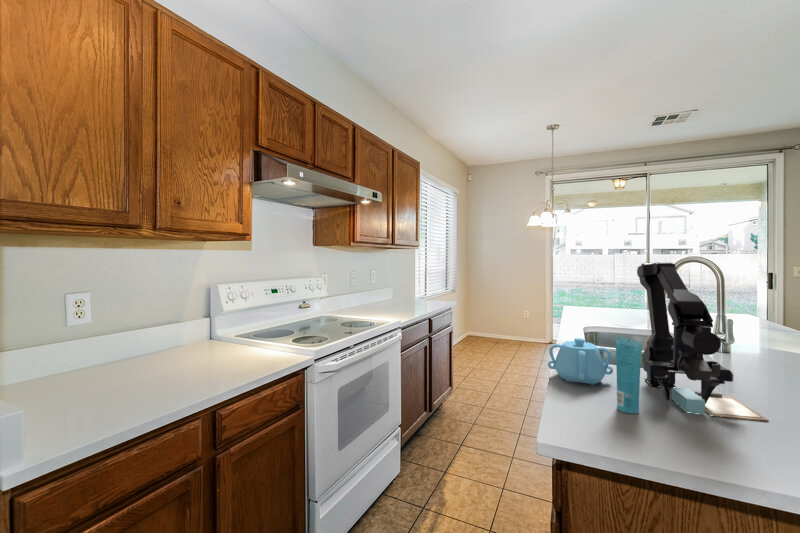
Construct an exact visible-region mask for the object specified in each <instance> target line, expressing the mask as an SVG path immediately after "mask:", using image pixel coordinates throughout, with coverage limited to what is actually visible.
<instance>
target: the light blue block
mask: <svg viewBox="0 0 800 533" xmlns="http://www.w3.org/2000/svg"><path fill="white" fill-rule="evenodd" d="M672 400H673V401H674V402H675V403H677V404H678V405H679V406H680V407H682V408H683V409H684V410H685V411H686V412H691V413H699V414H705V415H706V412H705V400H704V399H702V398H701V397H700V396H698V395H697V394H695V391H692V390H691V389H690V388H683V387H682V388H681V387H676V388H671V401H672ZM673 401H672V402H673ZM674 402H673V403H674ZM675 403H674V404H675ZM680 407H679V408H680Z"/></svg>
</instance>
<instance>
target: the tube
mask: <svg viewBox="0 0 800 533" xmlns="http://www.w3.org/2000/svg"><path fill="white" fill-rule="evenodd" d="M614 340H615V360H616V363H615V364H616V408H617V409H618V411H620V412H623V413H625V414H638V413H639V410H640V380H641V365H642V364H641V363H642V354H643V344H644V341H641V340H640V341H639V340H636V339H631V338H627V337H622V336H618V335H615V338H614Z"/></svg>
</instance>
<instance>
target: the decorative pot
mask: <svg viewBox="0 0 800 533" xmlns="http://www.w3.org/2000/svg"><path fill="white" fill-rule="evenodd" d="M573 340H574V341H571V340H568V341H564V342H563V343H562V344H559V343H553V344H552V345H551V346H550V347H549V349H548V350H549V351H548V352H549V356H550V359H551V360H549V361H548V363H547V367H548V368H549V369H550V370H555V372H556V373H557V374H558V375H559V377H560V378H561V379H564V380H565V382H566V383H570V384H571V383H572V384H573V383H575V382H576V383H585V384H587V385H591V386H596V385H597V384H598V383H600V382H601V381H602V380H603V379H604V378H605V376H606V375H608V376H609V375H612V374H613V372H614V369H613V368H612V366H610V363H611V360H612V357H613V356H612V352H611V350H609V349H608V348H606V347H603V346H601V347H600V346H599V347H597V345H595V344H594V343H591V342H586V339H584V338H579V337H576V338H573ZM556 348H559V350H558V352H557V354H556V356H554V349H556ZM601 351H603V352H606V353H607V359H606V361H604V358H603V356H602V355H601ZM551 364H552V365H551ZM607 369H609V371H608V370H607Z"/></svg>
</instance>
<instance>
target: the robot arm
mask: <svg viewBox="0 0 800 533" xmlns="http://www.w3.org/2000/svg"><path fill="white" fill-rule="evenodd" d="M676 269H677V268H676V264H675V263H674V262H672V261H657V262H652V263H651V262H650V263H647V262H646V263H643V262H642V263H641V265H638V267H637V269H636V273H637V277H638V279H639V283H640V284H641V286H642V287H643V289H645V291H646V295H647V303H648V313H649V314H648V315H649V322H650V331H651V332H650V333H651V335H650V336H649V338H648V339H647V341H646V347H645V349H644V350H643V352H642V353H641V362H642V363H643V366H642V367H643V371H644V372H645V373H646V377H645V378H644V380H645V382H647V381H648V382H649V383H650V384H651V385H652V386H651V385H650V384H649V383H648V382H647V383H648V384H649V385H650V386H651V387H654V386H661V387H660V389H661V390H662V393H663V395H664V397H665V400H666V401H670V398H671V397H670V396H671V395H670V388H669V387H676V374H684V375H686V378H687V379H688V380H691V381H700V391H701V398H702V399H704V400H705V404H706V403H707V401H708V399H709V397H710V395H711V393H712V392H713V391H714V390H715V388H716V387H718V386H720V385H725V383H726V382H730V383H732V382H734V373H733V371H731V369H728V368H726V367H724V366H722V365H721V364H720V363H719V361H713V360H705V359H704V355H706V356H711V355H715V354H716V353H717V352H718V351H720V349H721V346H722V343H721V340H720V338H719V337H718V335H716V334H715V333H712V328H713V327H714V324H713V322H714V319H713V317H712V316H711V314H710V312H709V310H708V308H707V305H706V304H705V303H704V301H703V300H702V299H701V297H700V296H698V295H697V294H695V293H692V292H691V291H689V290H688V288H687V287H686V284H685V282H684V281H683V279H682V278H681V276H680V274H679V272H678V271H677V270H676ZM665 293H666V294H665ZM666 295H667V297H668V299H669V302H668V305H667V301H666ZM668 314H669V316H670V319H671V320H672V322H671V325H673V335H672V334H671V333H670V326H669V325H670V324H669V316H668ZM676 388H677V387H676Z"/></svg>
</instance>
